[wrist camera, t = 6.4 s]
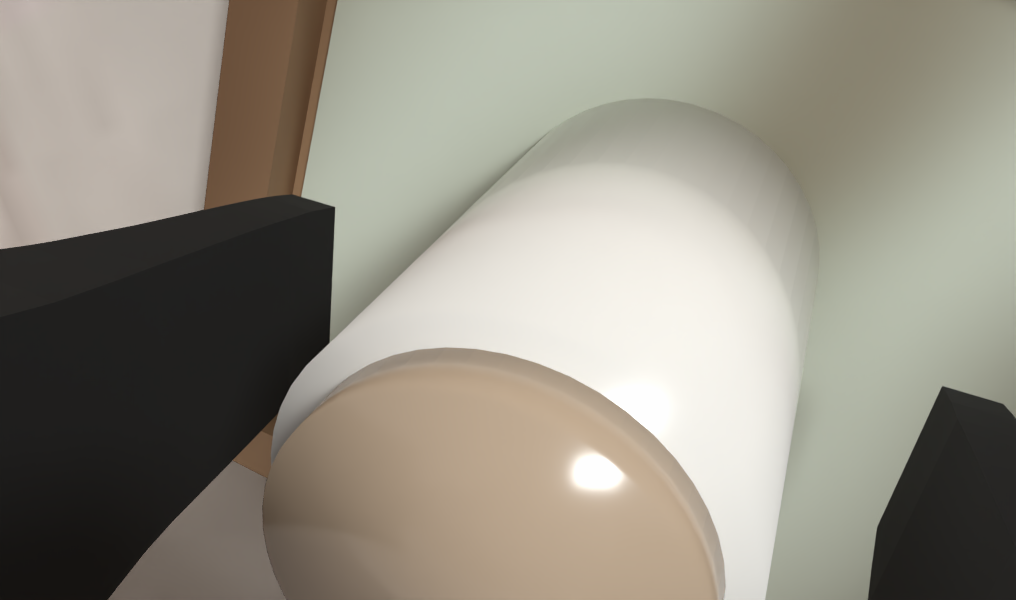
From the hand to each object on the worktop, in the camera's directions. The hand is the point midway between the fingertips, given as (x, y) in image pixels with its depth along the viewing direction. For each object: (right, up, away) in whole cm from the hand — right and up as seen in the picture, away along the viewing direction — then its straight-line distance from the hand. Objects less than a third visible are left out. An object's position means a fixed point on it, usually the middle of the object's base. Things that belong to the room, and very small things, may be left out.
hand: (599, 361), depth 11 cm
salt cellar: (+1, +1, +2) cm, 3 cm away
